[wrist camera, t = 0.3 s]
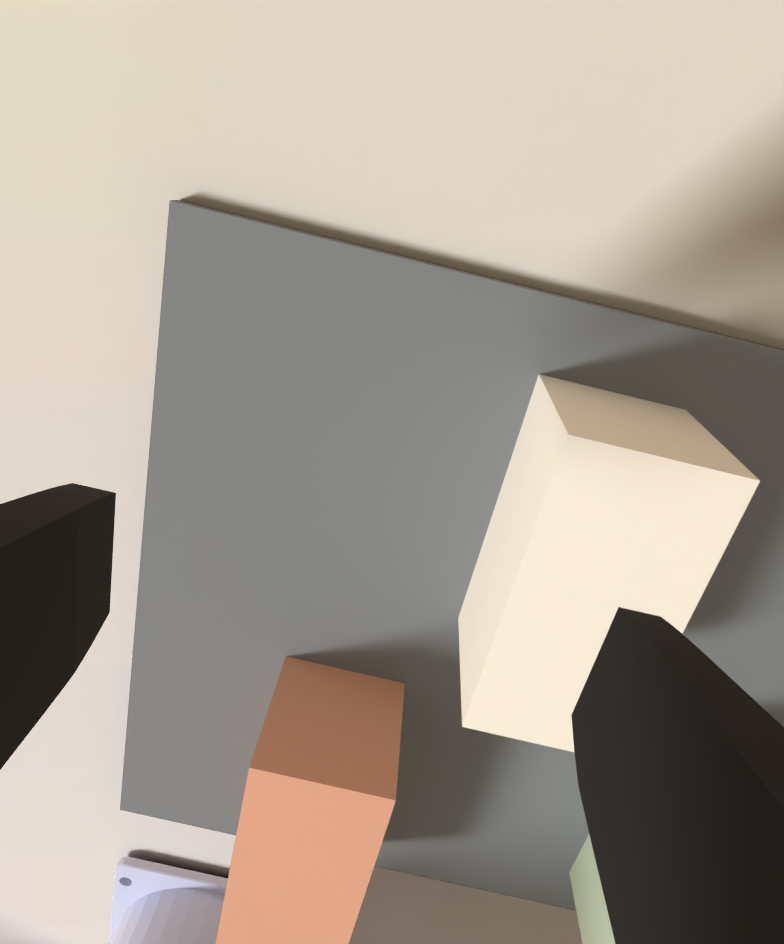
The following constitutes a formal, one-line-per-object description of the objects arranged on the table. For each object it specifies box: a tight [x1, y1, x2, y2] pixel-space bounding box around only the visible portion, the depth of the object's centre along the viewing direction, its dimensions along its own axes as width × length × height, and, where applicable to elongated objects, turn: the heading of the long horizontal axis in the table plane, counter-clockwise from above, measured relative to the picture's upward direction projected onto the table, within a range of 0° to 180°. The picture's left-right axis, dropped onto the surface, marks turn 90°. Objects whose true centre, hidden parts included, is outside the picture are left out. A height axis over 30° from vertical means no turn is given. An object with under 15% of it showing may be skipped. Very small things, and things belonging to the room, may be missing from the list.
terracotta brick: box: [215, 656, 405, 944], centre depth 21 cm, size 8×4×4 cm, turn 167°
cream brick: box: [458, 374, 760, 752], centre depth 17 cm, size 8×4×4 cm, turn 167°
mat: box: [120, 200, 784, 910], centre depth 21 cm, size 22×24×1 cm
